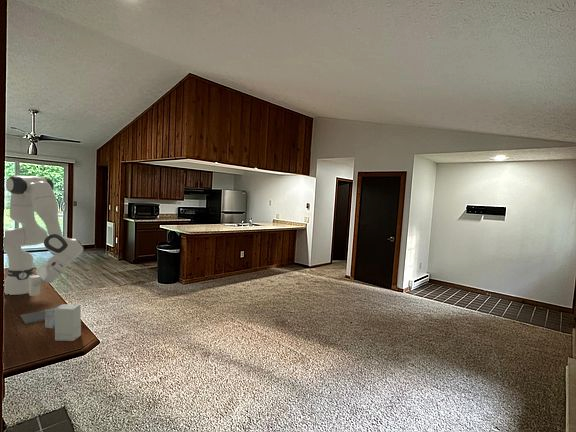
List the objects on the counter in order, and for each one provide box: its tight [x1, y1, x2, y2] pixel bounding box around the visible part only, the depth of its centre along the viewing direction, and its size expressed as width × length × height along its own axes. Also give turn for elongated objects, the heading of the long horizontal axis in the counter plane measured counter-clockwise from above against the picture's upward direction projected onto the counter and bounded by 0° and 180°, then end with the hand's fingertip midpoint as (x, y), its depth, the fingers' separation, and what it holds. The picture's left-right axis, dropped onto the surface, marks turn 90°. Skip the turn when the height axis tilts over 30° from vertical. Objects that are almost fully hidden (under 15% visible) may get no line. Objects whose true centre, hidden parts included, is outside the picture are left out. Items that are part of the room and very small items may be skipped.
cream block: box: [28, 274, 41, 297], centre depth 166 cm, size 4×4×10 cm
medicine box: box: [44, 304, 61, 329], centre depth 151 cm, size 8×4×9 cm, turn 168°
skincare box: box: [54, 303, 82, 342], centre depth 139 cm, size 8×6×15 cm
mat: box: [19, 309, 46, 325], centre depth 158 cm, size 12×14×1 cm
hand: (33, 284), depth 166 cm, fingers closed on cream block, 4 cm apart
